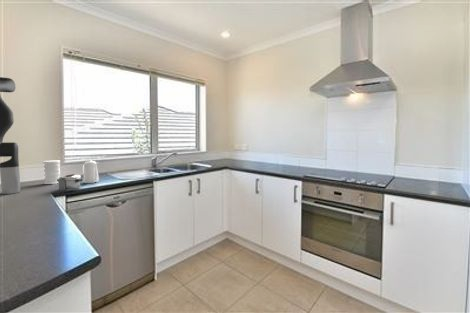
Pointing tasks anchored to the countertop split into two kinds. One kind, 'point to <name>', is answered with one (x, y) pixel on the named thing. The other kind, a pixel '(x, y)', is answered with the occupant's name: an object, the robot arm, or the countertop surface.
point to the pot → (69, 184)
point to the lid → (70, 176)
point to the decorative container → (52, 171)
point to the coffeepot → (90, 172)
